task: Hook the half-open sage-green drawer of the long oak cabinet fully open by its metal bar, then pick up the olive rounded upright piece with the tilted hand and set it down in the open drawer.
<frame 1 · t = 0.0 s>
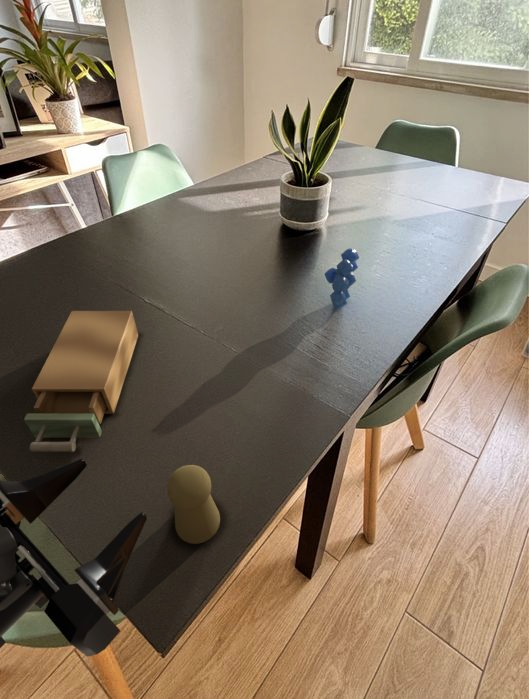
hand: (113, 487, 42), 18 cm above the table, tool horizontal, fingers open, 9 cm apart
olive rounded upright piece: (197, 521, 57), on the table
cabinet: (96, 371, 77), on the table
drawer: (77, 393, 69), point 3 cm above the table, slide at 4.0 cm
grapes: (336, 300, 92), on the table
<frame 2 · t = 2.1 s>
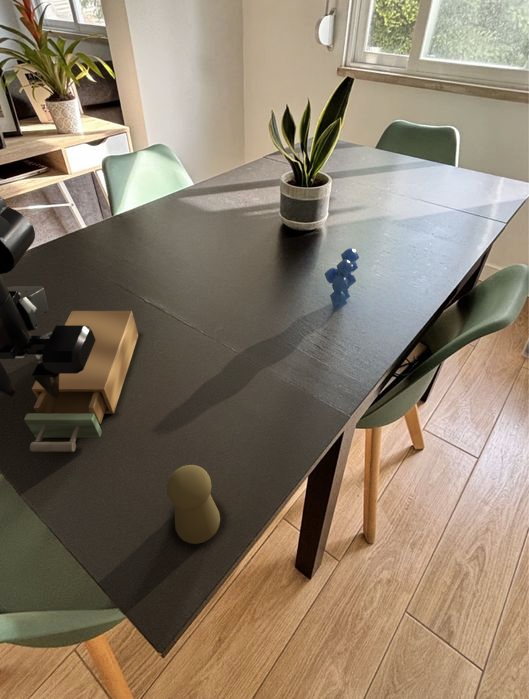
hand: (34, 394, 56), 13 cm above the table, tool pointing down, fingers open, 5 cm apart
nothing on the table moved.
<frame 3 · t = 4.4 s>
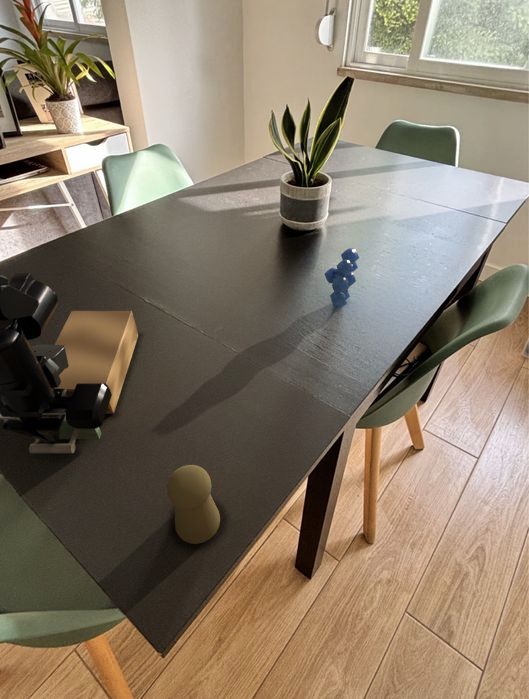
hand: (55, 440, 62), 4 cm above the table, tool pointing down, fingers closed, pressing on drawer
drawer: (77, 394, 69), point 3 cm above the table, slide at 4.3 cm, touching gripper
everything else where it was.
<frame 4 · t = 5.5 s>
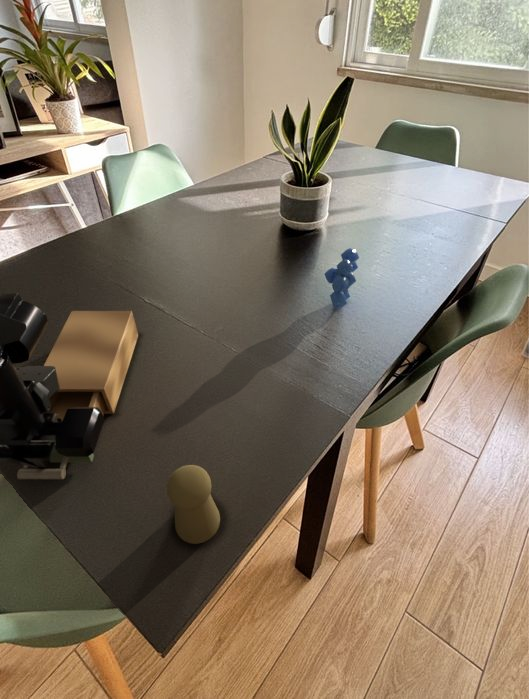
hand: (46, 465, 59), 3 cm above the table, tool pointing down, fingers closed
drawer: (68, 414, 66), point 3 cm above the table, slide at 8.3 cm, touching gripper
everything else where it was.
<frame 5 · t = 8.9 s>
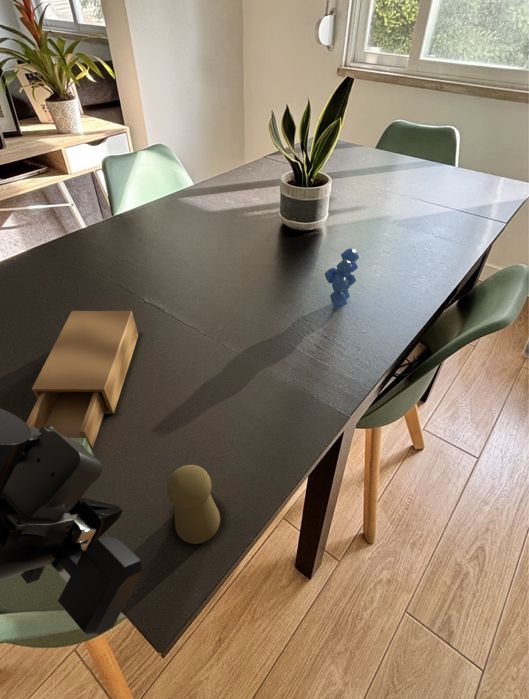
hand: (118, 512, 44), 13 cm above the table, tool tilted 40°, fingers closed
drawer: (68, 414, 66), point 3 cm above the table, slide at 8.3 cm
everything else where it was.
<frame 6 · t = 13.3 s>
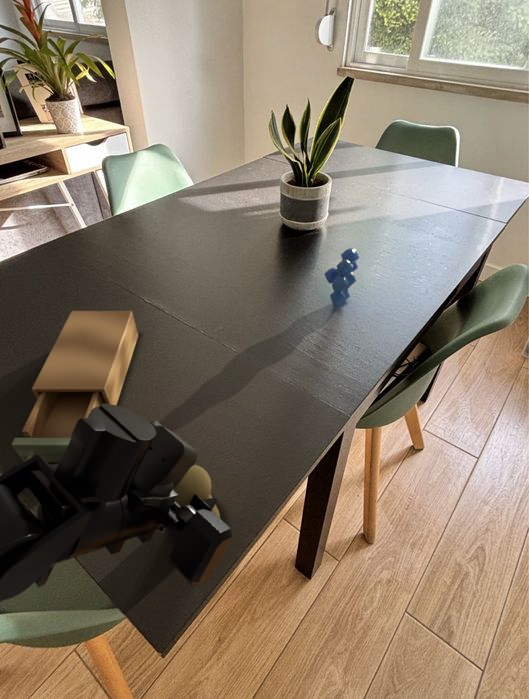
hand: (200, 489, 53), 7 cm above the table, tool tilted 45°, fingers closed on olive rounded upright piece, 5 cm apart
olive rounded upright piece: (197, 521, 57), on the table, touching gripper
everything else where it was.
when the fingers open (8 cm above the table, at t = 21.4 s): olive rounded upright piece stays where it is, resting on drawer.
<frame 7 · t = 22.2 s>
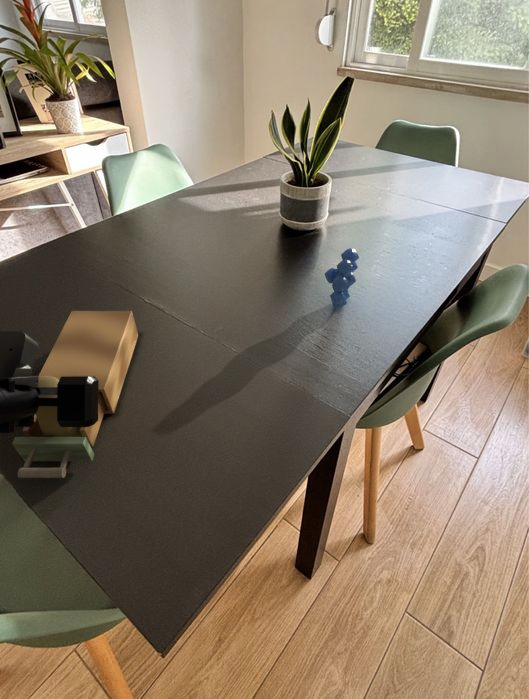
hand: (53, 395, 61), 9 cm above the table, tool tilted 45°, fingers open, 9 cm apart
olive rounded upright piece: (66, 433, 65), point 2 cm above the table, touching drawer
drawer: (69, 413, 66), point 3 cm above the table, slide at 8.1 cm, touching olive rounded upright piece
everything else where it was.
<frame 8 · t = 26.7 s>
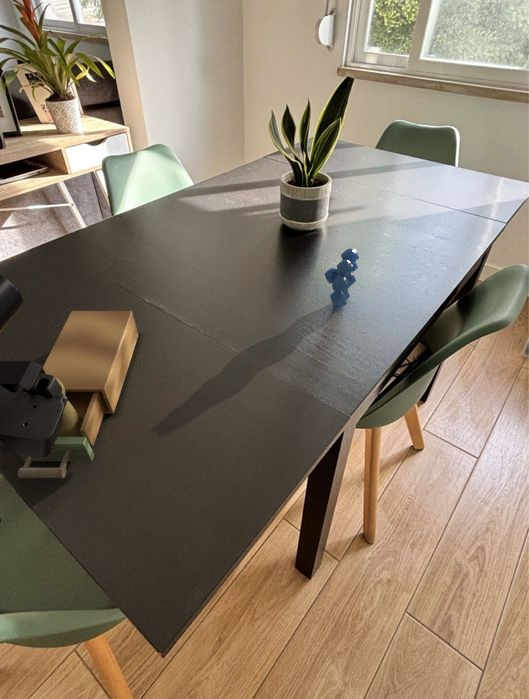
hand: (14, 481, 47), 13 cm above the table, tool pointing down, fingers open, 9 cm apart
nothing on the table moved.
at the end: drawer slide at 8.1 cm; olive rounded upright piece inside the target area in the drawer (1.1 cm from its centre), point 1.6 cm above the cabinet's base; the gripper is holding nothing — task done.
